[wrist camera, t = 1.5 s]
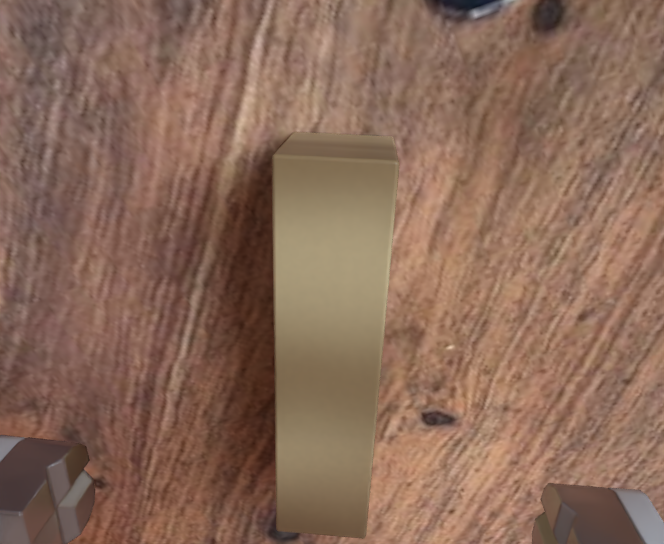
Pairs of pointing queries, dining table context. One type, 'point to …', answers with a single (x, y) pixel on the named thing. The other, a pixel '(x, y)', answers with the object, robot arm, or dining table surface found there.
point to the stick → (329, 323)
